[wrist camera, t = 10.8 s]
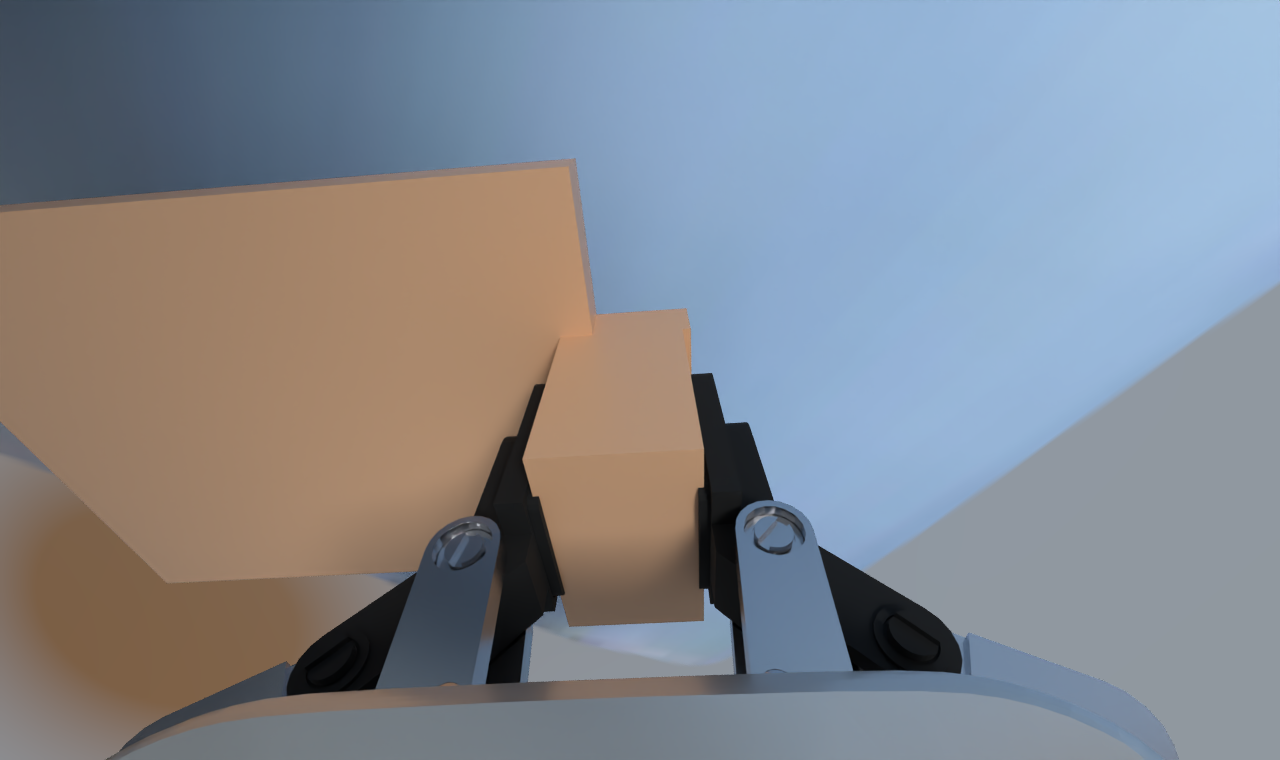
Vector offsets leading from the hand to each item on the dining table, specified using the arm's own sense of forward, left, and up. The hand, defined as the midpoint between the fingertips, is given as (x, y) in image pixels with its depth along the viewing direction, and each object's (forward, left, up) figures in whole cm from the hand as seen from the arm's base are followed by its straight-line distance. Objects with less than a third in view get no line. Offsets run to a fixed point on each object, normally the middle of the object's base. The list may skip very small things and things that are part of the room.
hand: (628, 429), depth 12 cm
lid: (+8, 0, -3) cm, 8 cm away
